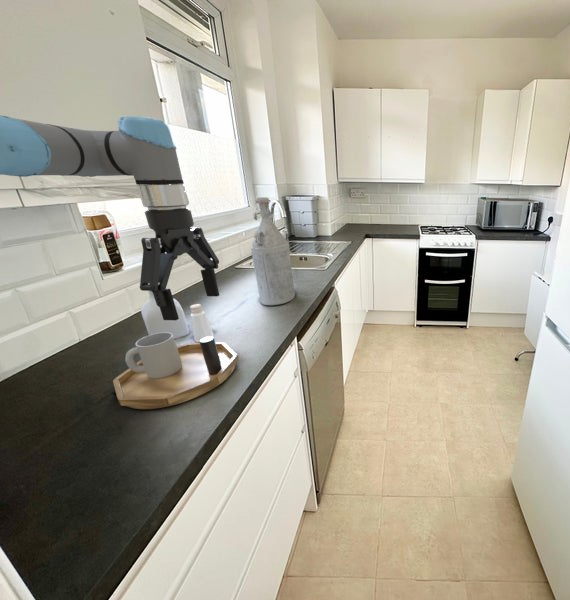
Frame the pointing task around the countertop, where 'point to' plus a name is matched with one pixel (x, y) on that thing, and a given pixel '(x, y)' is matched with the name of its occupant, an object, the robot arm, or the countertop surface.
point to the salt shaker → (200, 323)
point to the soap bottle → (156, 322)
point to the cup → (155, 356)
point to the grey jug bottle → (271, 259)
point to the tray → (179, 377)
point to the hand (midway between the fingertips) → (194, 306)
